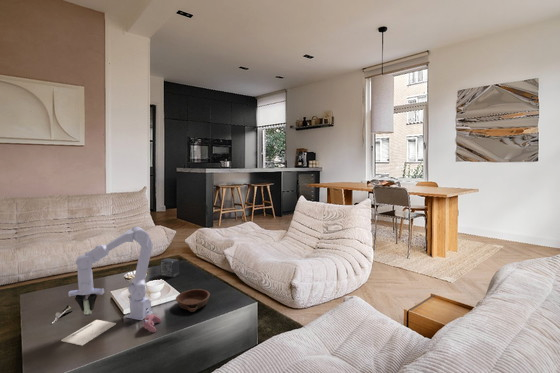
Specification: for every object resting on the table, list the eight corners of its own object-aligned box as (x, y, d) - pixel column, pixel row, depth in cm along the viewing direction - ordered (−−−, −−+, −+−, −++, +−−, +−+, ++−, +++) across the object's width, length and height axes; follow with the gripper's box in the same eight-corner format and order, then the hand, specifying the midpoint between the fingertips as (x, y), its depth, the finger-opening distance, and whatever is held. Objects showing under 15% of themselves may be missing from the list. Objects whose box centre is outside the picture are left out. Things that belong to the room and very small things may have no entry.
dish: (173, 316, 157) (173, 307, 156) (178, 297, 178) (178, 288, 178) (209, 312, 160) (209, 303, 160) (210, 294, 182) (210, 285, 181)
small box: (180, 274, 213) (179, 259, 212) (173, 278, 207) (172, 262, 206) (167, 272, 217) (167, 257, 216) (160, 275, 211) (159, 260, 210)
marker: (93, 313, 146) (92, 297, 146) (88, 317, 143) (86, 300, 143) (88, 312, 147) (87, 296, 147) (82, 316, 144) (81, 299, 144)
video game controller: (154, 325, 152) (146, 313, 151) (162, 320, 152) (155, 308, 151) (147, 336, 142) (139, 324, 141) (156, 331, 142) (148, 319, 141)
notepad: (116, 324, 150) (116, 323, 150) (82, 345, 133) (81, 344, 133) (96, 320, 154) (96, 319, 154) (61, 341, 137) (61, 340, 137)
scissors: (42, 326, 150) (41, 321, 150) (64, 305, 171) (64, 301, 171) (60, 324, 152) (59, 320, 151) (80, 304, 172) (79, 300, 172)
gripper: (106, 277, 149) (108, 304, 150) (73, 278, 147) (75, 306, 148) (99, 282, 142) (101, 311, 143) (64, 284, 140) (67, 314, 141)
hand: (87, 309), depth 145 cm, fingers closed on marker, 3 cm apart
